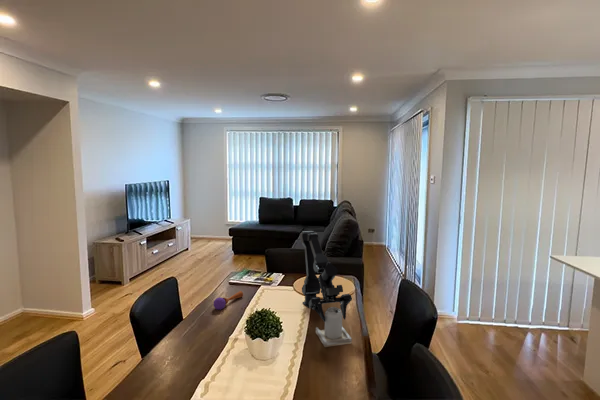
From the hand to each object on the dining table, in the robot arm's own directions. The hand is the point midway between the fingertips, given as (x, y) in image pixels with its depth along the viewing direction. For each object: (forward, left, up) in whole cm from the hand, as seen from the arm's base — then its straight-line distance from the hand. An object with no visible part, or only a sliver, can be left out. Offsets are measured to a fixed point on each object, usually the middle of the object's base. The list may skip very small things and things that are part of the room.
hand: (334, 320), depth 138 cm
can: (-2, 0, -8) cm, 8 cm away
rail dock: (-1, 0, -9) cm, 9 cm away
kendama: (-55, -29, -9) cm, 63 cm away
